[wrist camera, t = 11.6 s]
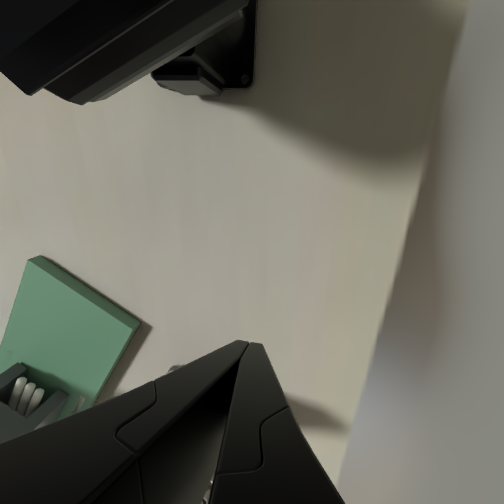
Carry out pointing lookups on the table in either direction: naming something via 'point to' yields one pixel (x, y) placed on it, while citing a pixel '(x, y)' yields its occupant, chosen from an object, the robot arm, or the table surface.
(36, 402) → the header
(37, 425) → the plug
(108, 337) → the board
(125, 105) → the table surface
